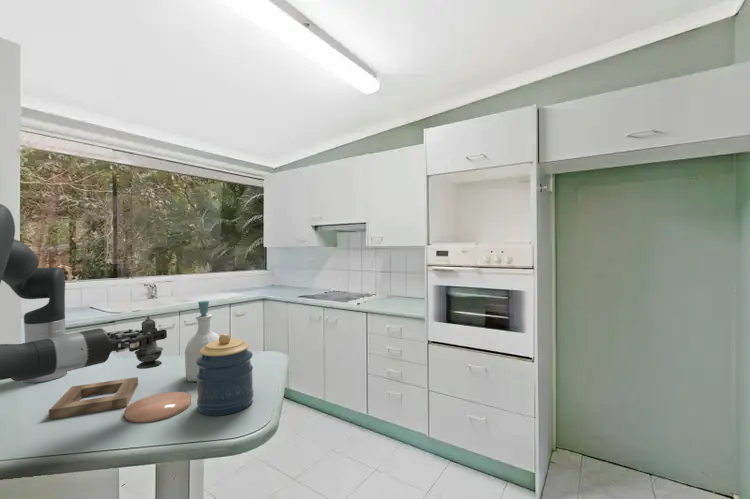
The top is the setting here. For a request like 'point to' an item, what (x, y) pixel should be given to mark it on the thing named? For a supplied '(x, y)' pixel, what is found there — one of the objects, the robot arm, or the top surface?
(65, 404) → the wooden square frame
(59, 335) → the robot arm
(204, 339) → the soap bottle
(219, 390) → the canister
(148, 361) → the salt shaker
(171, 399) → the saucer
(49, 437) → the top surface
